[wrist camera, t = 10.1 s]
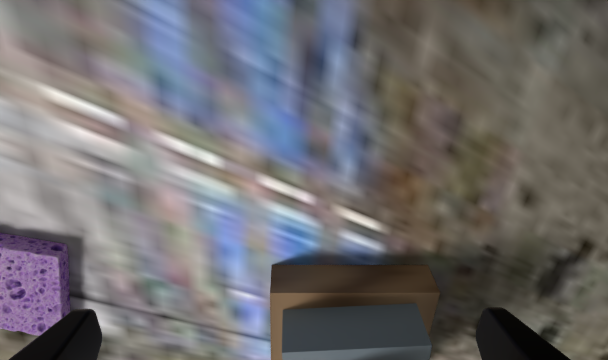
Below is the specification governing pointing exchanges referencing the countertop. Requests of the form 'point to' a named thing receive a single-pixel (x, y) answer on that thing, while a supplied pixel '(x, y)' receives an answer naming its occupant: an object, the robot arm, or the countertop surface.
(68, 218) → the countertop surface
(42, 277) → the sponges
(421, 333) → the slate top slab
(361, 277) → the walnut base slab
